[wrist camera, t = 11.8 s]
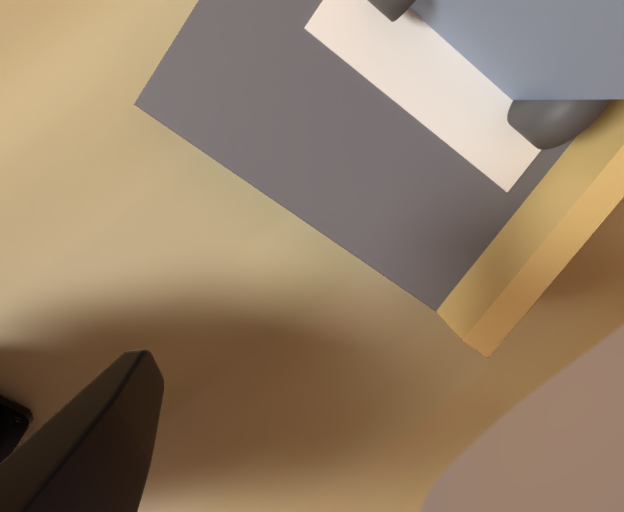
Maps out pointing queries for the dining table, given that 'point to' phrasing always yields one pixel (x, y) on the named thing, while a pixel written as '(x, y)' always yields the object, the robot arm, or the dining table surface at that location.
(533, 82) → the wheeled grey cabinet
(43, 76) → the dining table surface
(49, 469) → the robot arm
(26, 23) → the dining table surface
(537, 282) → the wooden frame
